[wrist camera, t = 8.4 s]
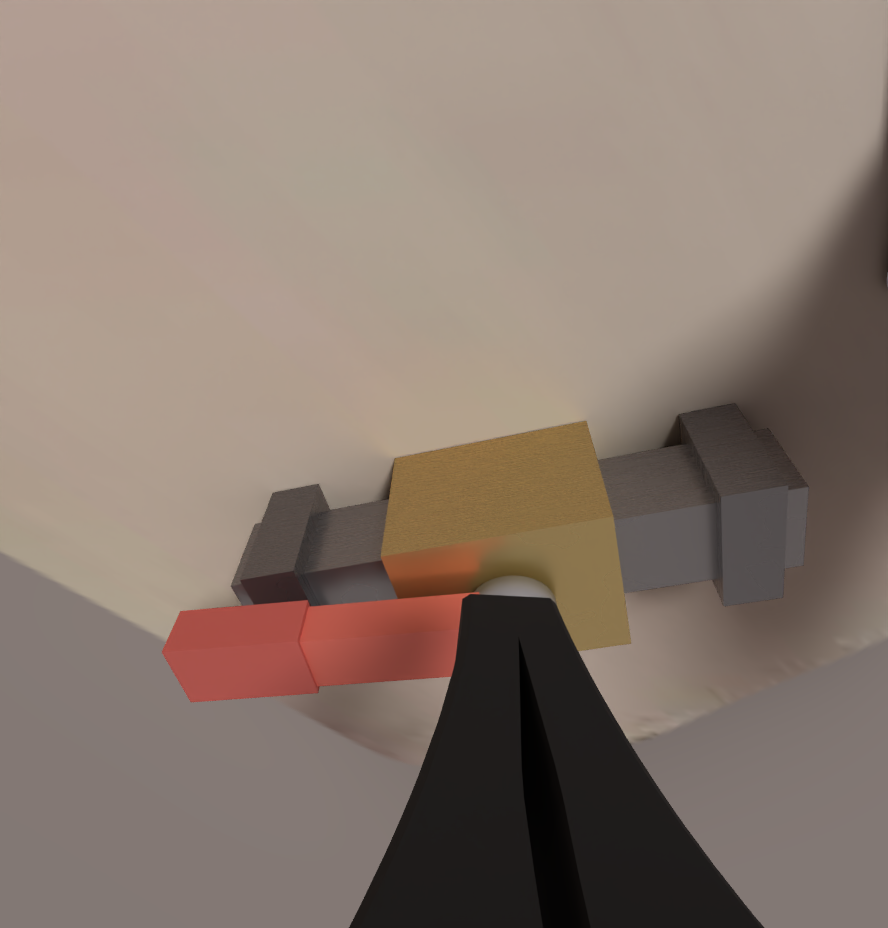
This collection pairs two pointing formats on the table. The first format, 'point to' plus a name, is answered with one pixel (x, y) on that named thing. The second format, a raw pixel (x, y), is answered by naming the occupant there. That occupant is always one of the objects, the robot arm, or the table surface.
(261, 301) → the table surface
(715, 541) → the pipe valve
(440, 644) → the lever
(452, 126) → the table surface
